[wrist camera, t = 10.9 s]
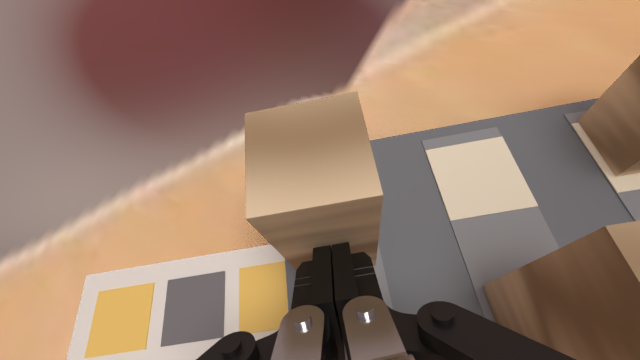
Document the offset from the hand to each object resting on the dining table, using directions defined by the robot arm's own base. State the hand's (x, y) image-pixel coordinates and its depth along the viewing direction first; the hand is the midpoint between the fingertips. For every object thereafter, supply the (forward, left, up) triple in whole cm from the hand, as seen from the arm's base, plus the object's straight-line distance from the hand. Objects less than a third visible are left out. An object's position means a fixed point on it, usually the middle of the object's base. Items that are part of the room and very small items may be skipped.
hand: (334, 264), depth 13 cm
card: (+6, -6, -6) cm, 10 cm away
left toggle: (-2, -2, -4) cm, 5 cm away
